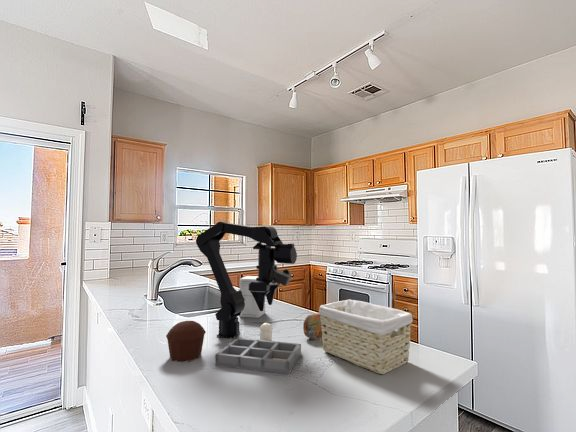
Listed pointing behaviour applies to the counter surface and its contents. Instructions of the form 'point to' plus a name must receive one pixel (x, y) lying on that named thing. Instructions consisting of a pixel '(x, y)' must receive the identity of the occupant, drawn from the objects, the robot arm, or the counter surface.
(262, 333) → the egg
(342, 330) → the storage basket
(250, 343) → the grey compartment tray
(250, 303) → the supplement box
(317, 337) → the tin
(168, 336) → the muffin
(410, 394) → the counter surface
